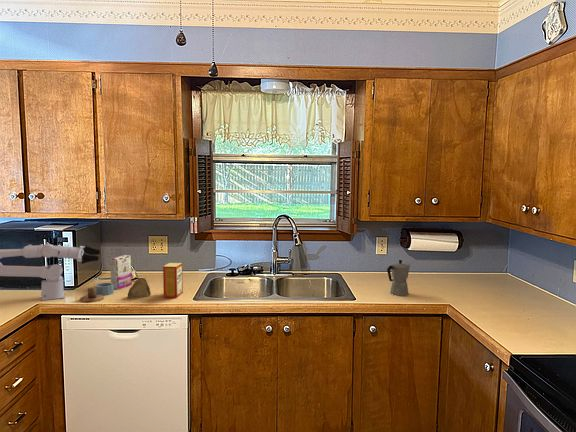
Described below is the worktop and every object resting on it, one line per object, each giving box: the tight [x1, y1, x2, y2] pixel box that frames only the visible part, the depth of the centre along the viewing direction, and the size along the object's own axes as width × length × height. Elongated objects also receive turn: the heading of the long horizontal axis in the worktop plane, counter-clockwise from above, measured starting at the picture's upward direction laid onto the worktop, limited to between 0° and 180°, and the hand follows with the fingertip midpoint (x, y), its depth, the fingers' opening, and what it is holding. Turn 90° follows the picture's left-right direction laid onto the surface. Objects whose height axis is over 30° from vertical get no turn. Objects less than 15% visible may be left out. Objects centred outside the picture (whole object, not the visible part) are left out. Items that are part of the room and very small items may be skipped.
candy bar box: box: [109, 254, 133, 290], centre depth 225 cm, size 11×5×16 cm, turn 161°
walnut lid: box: [79, 287, 105, 304], centre depth 202 cm, size 10×10×6 cm
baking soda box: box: [162, 262, 184, 299], centre depth 210 cm, size 10×6×16 cm
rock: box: [126, 277, 152, 299], centre depth 208 cm, size 11×9×10 cm
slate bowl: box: [94, 282, 115, 296], centre depth 212 cm, size 9×9×4 cm
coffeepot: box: [386, 259, 411, 297], centre depth 216 cm, size 15×9×18 cm, turn 119°
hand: (99, 255), depth 210 cm, fingers open, 7 cm apart
